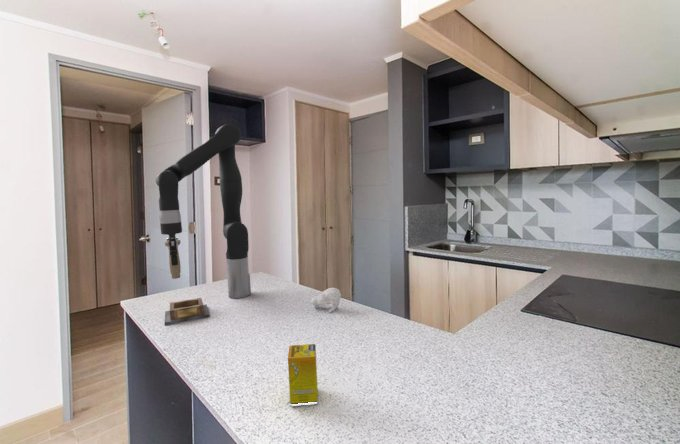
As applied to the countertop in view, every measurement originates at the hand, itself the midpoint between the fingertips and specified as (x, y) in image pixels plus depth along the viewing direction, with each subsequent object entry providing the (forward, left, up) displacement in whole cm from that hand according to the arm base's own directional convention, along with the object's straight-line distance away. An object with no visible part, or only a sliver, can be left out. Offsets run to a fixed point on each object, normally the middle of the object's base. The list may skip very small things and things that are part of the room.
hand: (174, 263), depth 132 cm
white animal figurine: (-51, +33, -19) cm, 64 cm away
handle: (0, 0, -6) cm, 6 cm away
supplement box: (-24, +81, -19) cm, 86 cm away
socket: (-3, +11, -18) cm, 22 cm away
